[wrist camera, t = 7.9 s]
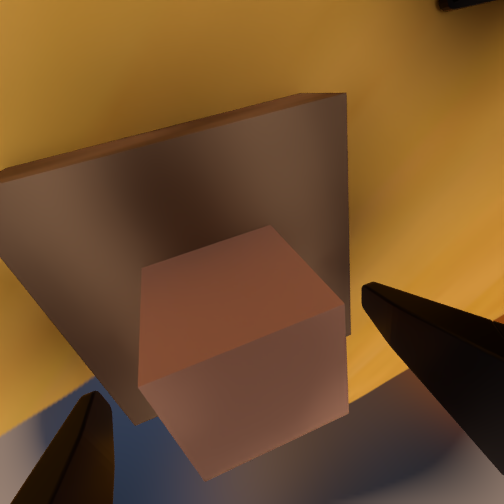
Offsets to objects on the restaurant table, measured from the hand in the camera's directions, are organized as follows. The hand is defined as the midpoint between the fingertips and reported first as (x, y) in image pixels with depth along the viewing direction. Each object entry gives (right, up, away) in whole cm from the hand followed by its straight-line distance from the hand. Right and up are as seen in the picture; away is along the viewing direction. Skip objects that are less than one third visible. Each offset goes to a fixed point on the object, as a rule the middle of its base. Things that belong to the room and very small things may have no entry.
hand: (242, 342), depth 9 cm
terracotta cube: (-1, +1, +3) cm, 3 cm away
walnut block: (-2, +3, +6) cm, 7 cm away
